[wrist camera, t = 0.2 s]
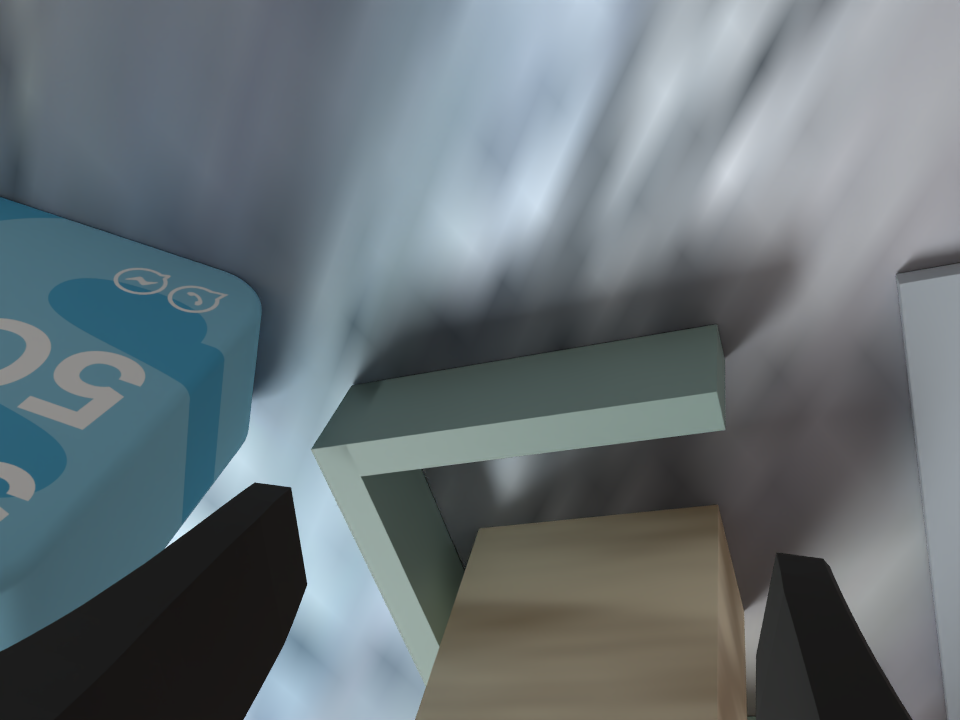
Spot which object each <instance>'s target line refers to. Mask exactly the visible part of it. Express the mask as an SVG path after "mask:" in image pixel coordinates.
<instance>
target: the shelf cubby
mask: <svg viewBox="0 0 960 720" xmlns="http://www.w3.org/2000/svg"><path fill="white" fill-rule="evenodd" d="M722 430H726V429H725V358H724V354H723V349H722V345H721V340H720V336H719V331H718V326H717V324H716V325H710V326H704V327H698V328H692V329H686V330H680V331H674V332H668V333H662V334H656V335H650V336H644V337H638V338H632V339H626V340H620V341H614V342H608V343H602V344H596V345H590V346H584V347H578V348H572V349H567V350H561V351H555V352H549V353H543V354H537V355H531V356H525V357H519V358H513V359H507V360H501V361H495V362H489V363H483V364H477V365H471V366H465V367H459V368H453V369H447V370H441V371H435V372H429V373H423V374H417V375H411V376H405V377H399V378H393V379H387V380H382V381H376V382H370V383H364V384H358V385H352V386H351V388H350V389H349V391H348V392H347V394H346V395H345V397H344V399H343V400H342V402H341V403H340V405H339V406H338V408H337V410H336V411H335V413H334V414H333V416H332V417H331V419H330V421H329V422H328V424H327V425H326V427H325V428H324V430H323V431H322V433H321V435H320V436H319V438H318V439H317V441H316V442H315V444H314V446H313V447H312V449H311V450H312V452H313V455H314V457H315V459H316V461H317V463H318V465H319V467H320V469H321V471H322V473H323V475H324V477H325V479H326V481H327V483H328V485H329V488H330V490H331V492H332V494H333V496H334V498H335V500H336V502H337V504H338V506H339V508H340V510H341V512H342V514H343V516H344V518H345V521H346V523H347V525H348V527H349V529H350V531H351V533H352V535H353V537H354V539H355V541H356V543H357V545H358V547H359V549H360V551H361V554H362V556H363V558H364V560H365V562H366V564H367V566H368V568H369V570H370V572H371V574H372V576H373V578H374V580H375V582H376V585H377V587H378V589H379V591H380V593H381V595H382V597H383V599H384V601H385V603H386V605H387V607H388V609H389V611H390V613H391V615H392V618H393V620H394V622H395V624H396V626H397V628H398V630H399V632H400V634H401V636H402V638H403V640H404V642H405V644H406V646H407V648H408V651H409V653H410V655H411V657H412V659H413V661H414V663H415V665H416V667H417V669H418V671H419V673H420V675H421V677H422V679H423V682H424V684H425V686H427V683H428V680H429V677H430V674H431V671H432V668H433V665H434V662H435V659H436V656H437V653H438V650H439V647H440V644H441V641H442V638H443V635H444V632H445V629H446V626H447V623H448V620H449V617H450V614H451V611H452V608H453V605H454V602H455V599H456V596H457V593H458V590H459V587H460V584H461V581H462V578H463V575H464V572H465V571H464V569H463V567H462V564H461V562H460V560H459V557H458V555H457V552H456V550H455V548H454V545H453V543H452V541H451V538H450V536H449V533H448V531H447V529H446V526H445V524H444V522H443V519H442V517H441V515H440V512H439V510H438V507H437V505H436V503H435V500H434V498H433V496H432V493H431V491H430V488H429V486H428V484H427V481H426V479H425V477H424V474H423V472H422V470H421V469H423V468H431V467H439V466H447V465H455V464H462V463H470V462H478V461H486V460H494V459H502V458H509V457H517V456H525V455H533V454H541V453H549V452H557V451H564V450H572V449H580V448H588V447H596V446H604V445H612V444H619V443H627V442H635V441H643V440H651V439H659V438H667V437H674V436H682V435H690V434H698V433H706V432H714V431H722ZM747 720H756V717H747Z"/></svg>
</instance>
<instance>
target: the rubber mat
mask: <svg viewBox="0 0 960 720" xmlns="http://www.w3.org/2000/svg"><path fill="white" fill-rule="evenodd" d="M896 281H897V290H898V298H899V307H900V316H901V324H902V333H903V342H904V350H905V359H906V368H907V376H908V385H909V394H910V403H911V411H912V420H913V429H914V437H915V446H916V455H917V463H918V472H919V481H920V489H921V498H922V507H923V516H924V524H925V533H926V542H927V550H928V559H929V568H930V576H931V585H932V594H933V602H934V611H935V620H936V629H937V637H938V646H939V655H940V663H941V672H942V681H943V689H944V698H945V707H946V716H947V720H960V263H957V264H951V265H946V266H940V267H934V268H928V269H923V270H917V271H911V272H906V273H900V274H896Z"/></svg>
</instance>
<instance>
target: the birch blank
mask: <svg viewBox="0 0 960 720" xmlns="http://www.w3.org/2000/svg"><path fill="white" fill-rule="evenodd" d="M415 720H747V696H746V662H745V629H744V609H743V605H742V601H741V597H740V593H739V589H738V585H737V580H736V576H735V572H734V568H733V564H732V560H731V556H730V552H729V548H728V544H727V540H726V535H725V531H724V527H723V523H722V519H721V515H720V511H719V507H718V505H709V506H699V507H688V508H678V509H668V510H658V511H648V512H638V513H628V514H618V515H608V516H598V517H588V518H578V519H568V520H558V521H548V522H538V523H528V524H518V525H508V526H498V527H488V528H479V530H478V533H477V536H476V539H475V542H474V545H473V548H472V551H471V554H470V557H469V560H468V563H467V566H466V569H465V572H464V575H463V578H462V581H461V584H460V587H459V590H458V593H457V596H456V599H455V602H454V605H453V608H452V611H451V614H450V617H449V620H448V623H447V626H446V629H445V632H444V635H443V638H442V641H441V644H440V647H439V650H438V653H437V656H436V659H435V662H434V665H433V668H432V671H431V674H430V677H429V680H428V683H427V686H426V689H425V692H424V695H423V698H422V701H421V704H420V707H419V710H418V713H417V716H416V719H415Z"/></svg>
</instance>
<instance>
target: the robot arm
mask: <svg viewBox="0 0 960 720" xmlns="http://www.w3.org/2000/svg"><path fill="white" fill-rule="evenodd" d="M306 586H307V580H306V574H305V568H304V562H303V556H302V550H301V544H300V538H299V532H298V526H297V520H296V514H295V508H294V502H293V497H292V491H291V487H284V486H276V485H269V484H261V483H254V484H252V485H251V486H249V487H248V488H246V489H245V490H244V491H242V492H241V493H239V494H238V495H237V496H235V497H234V498H233V499H231V500H230V501H229V502H227V503H226V504H225V505H223V506H222V507H221V508H219V509H218V510H217V511H215V512H214V513H213V514H211V515H210V516H209V517H207V518H206V519H205V520H203V521H202V522H201V523H199V524H198V525H197V526H195V527H194V528H193V529H191V530H190V531H189V532H187V533H186V534H184V535H183V536H182V537H180V538H179V539H178V540H176V541H175V542H173V543H172V544H171V545H169V546H168V547H167V548H165V549H164V550H162V551H161V552H160V553H158V554H157V555H156V556H154V557H153V558H151V559H150V560H149V561H147V562H146V563H144V564H143V565H142V566H140V567H139V568H137V569H136V570H134V571H133V572H131V573H130V574H128V575H127V576H125V577H124V578H122V579H121V580H119V581H118V582H116V583H115V584H113V585H112V586H110V587H109V588H107V589H106V590H104V591H103V592H101V593H100V594H98V595H97V596H95V597H94V598H92V599H91V600H89V601H88V602H86V603H85V604H83V605H81V606H80V607H78V608H76V609H75V610H73V611H72V612H70V613H68V614H67V615H65V616H63V617H62V618H60V619H58V620H57V621H55V622H53V623H51V624H50V625H48V626H46V627H44V628H43V629H41V630H39V631H37V632H35V633H34V634H32V635H30V636H28V637H27V638H25V639H23V640H21V641H19V642H18V643H16V644H14V645H12V646H10V647H8V648H6V649H4V650H2V651H0V720H243V719H244V718H245V716H246V714H247V712H248V710H249V709H250V707H251V705H252V703H253V701H254V699H255V698H256V696H257V694H258V692H259V690H260V689H261V687H262V685H263V683H264V681H265V679H266V677H267V676H268V674H269V672H270V670H271V668H272V666H273V664H274V663H275V661H276V659H277V657H278V655H279V653H280V651H281V649H282V647H283V645H284V643H285V641H286V638H287V636H288V634H289V631H290V629H291V626H292V624H293V621H294V619H295V616H296V613H297V611H298V608H299V605H300V603H301V600H302V597H303V595H304V592H305V589H306ZM756 720H912V718H911V717H910V715H909V713H908V712H907V710H906V709H905V707H904V705H903V704H902V702H901V701H900V699H899V697H898V696H897V694H896V692H895V691H894V689H893V687H892V686H891V684H890V682H889V680H888V679H887V677H886V675H885V674H884V672H883V670H882V669H881V667H880V665H879V663H878V662H877V660H876V658H875V657H874V655H873V653H872V651H871V649H870V648H869V646H868V644H867V642H866V640H865V638H864V636H863V635H862V633H861V631H860V629H859V627H858V625H857V623H856V621H855V619H854V617H853V615H852V613H851V611H850V609H849V607H848V605H847V603H846V601H845V599H844V597H843V595H842V593H841V591H840V589H839V586H838V584H837V582H836V580H835V578H834V575H833V573H832V571H831V568H830V566H829V565H828V564H827V563H826V562H825V560H824V559H821V558H813V557H806V556H798V555H791V554H783V553H776V558H775V563H774V568H773V573H772V578H771V583H770V588H769V593H768V598H767V603H766V608H765V613H764V619H763V624H762V629H761V634H760V639H759V644H758V649H757V654H756Z"/></svg>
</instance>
